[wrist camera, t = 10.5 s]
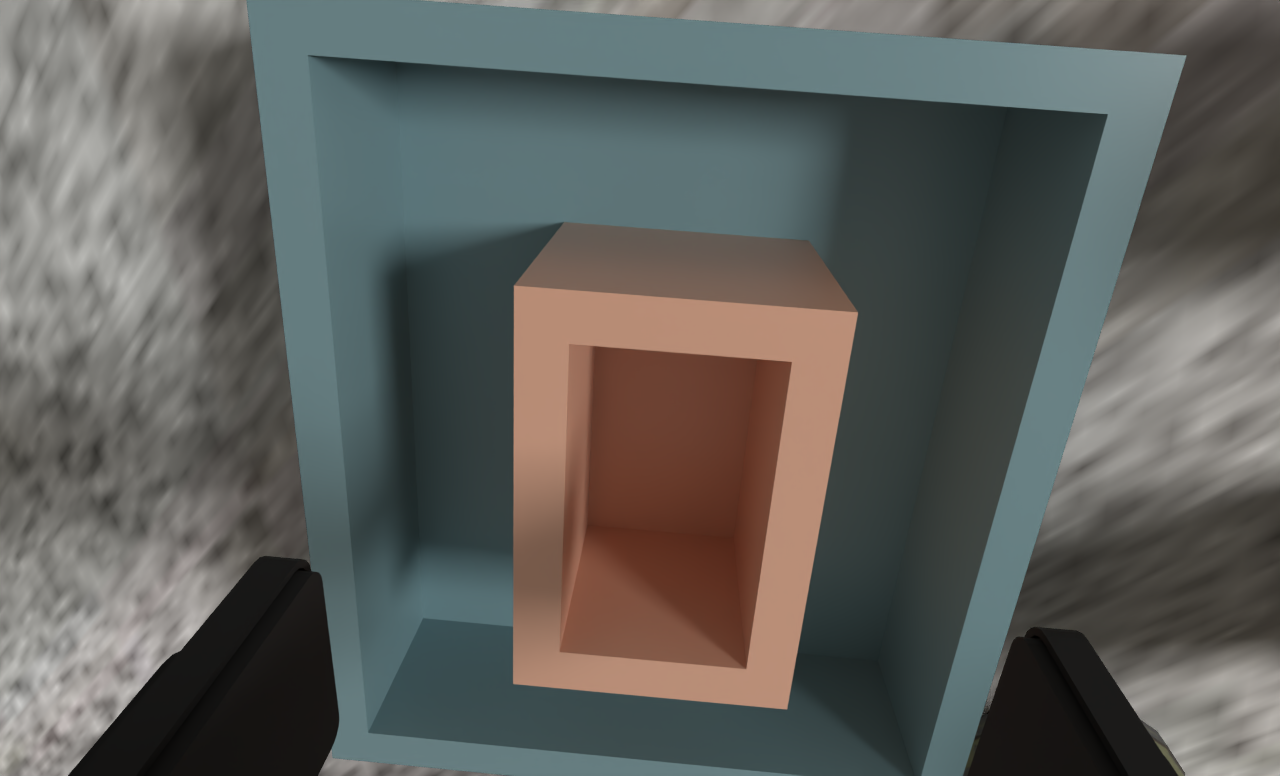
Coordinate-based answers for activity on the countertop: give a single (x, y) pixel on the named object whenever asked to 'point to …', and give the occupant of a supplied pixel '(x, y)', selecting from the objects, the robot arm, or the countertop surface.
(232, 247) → the countertop surface
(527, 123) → the big crate
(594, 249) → the small crate
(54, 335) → the countertop surface
